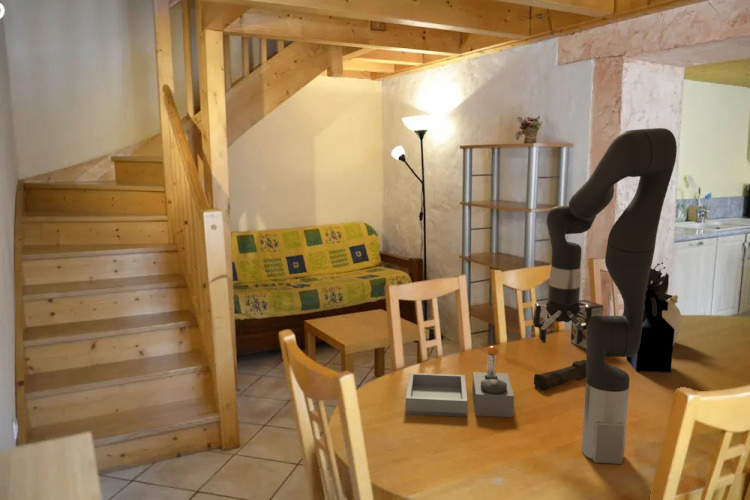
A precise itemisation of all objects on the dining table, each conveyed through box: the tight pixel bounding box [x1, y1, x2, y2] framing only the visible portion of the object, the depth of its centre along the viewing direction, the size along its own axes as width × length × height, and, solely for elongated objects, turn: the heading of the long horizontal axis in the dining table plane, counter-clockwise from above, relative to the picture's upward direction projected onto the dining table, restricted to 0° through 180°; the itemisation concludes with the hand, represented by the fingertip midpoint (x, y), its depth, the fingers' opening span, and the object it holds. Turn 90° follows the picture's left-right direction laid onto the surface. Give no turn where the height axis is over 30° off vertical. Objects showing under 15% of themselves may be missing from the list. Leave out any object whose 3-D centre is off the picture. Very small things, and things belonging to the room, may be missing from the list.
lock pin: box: [486, 345, 498, 379], centre depth 164 cm, size 3×3×14 cm
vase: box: [626, 262, 674, 373], centre depth 186 cm, size 14×12×35 cm
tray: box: [405, 372, 468, 418], centre depth 163 cm, size 18×16×4 cm
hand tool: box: [533, 359, 586, 391], centre depth 176 cm, size 23×5×6 cm, turn 117°
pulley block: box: [471, 371, 515, 418], centre depth 161 cm, size 16×10×8 cm, turn 173°
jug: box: [661, 276, 682, 346], centre depth 212 cm, size 15×16×25 cm
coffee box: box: [570, 299, 605, 350], centre depth 210 cm, size 9×6×16 cm
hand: (560, 342), depth 150 cm, fingers open, 8 cm apart
